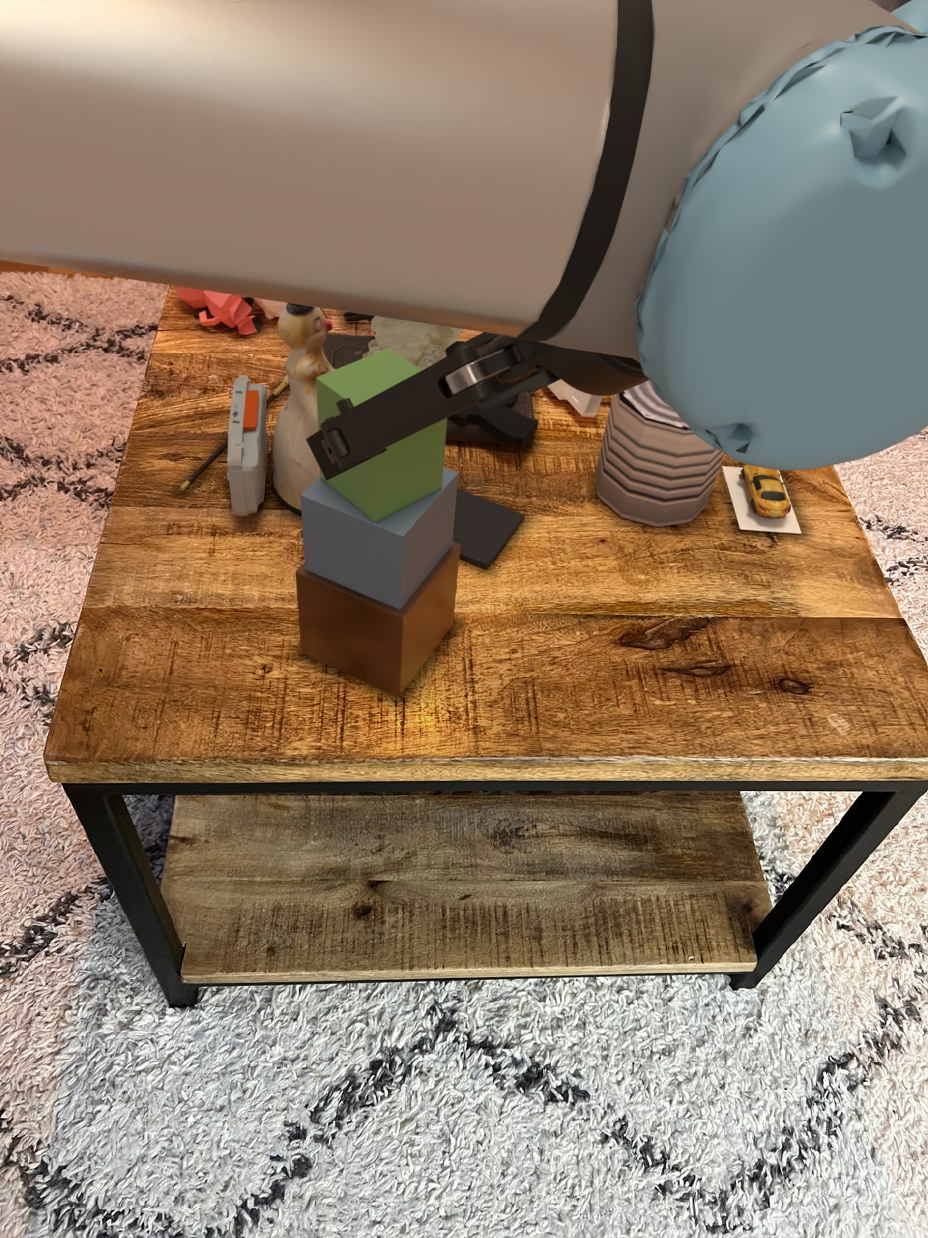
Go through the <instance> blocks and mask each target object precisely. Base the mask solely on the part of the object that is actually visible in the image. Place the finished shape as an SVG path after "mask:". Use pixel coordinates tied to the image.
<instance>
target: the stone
mask: <svg viewBox="0 0 928 1238" xmlns="http://www.w3.org/2000/svg"><path fill="white" fill-rule="evenodd" d="M369 327H370V329H371V332H372V333H373V334H374V336H375V339H373V340H371V341H370V342H369V343H368V345H369V350H370V351H369V352H367V353H364V354H363V357H362V359H363V358H366V357H368V356H370V355H373V354H375V353H378V352H380V351H383V350H385V349H388V348H389V349H391V350H392V351H394V352H395V353H397V354H398V355H400V356H401V357H403V358H404V359H406V360H407V361H409V362H410V363H412V364H413V365H415V366H416V367H418V368H419V369H421V370H424V369H426V368H427V367H429V366H431V365H433V364H435V363H436V362H438V361H440V360H441V359H443V358H445V357H446V352H445V350H446V348H447V347H449V346H450V345H452V344H453V343H455V342H456V341H459V339H460V335H461V334H462V333H463V331H464V329H459V328H453V327H446V326H439V325H432V324H426V323H419V322H412V321H406V320H399V319H392V318H386V317H379V316H375V317H374V318H373V319H372V321H371V322H370V324H369Z"/></svg>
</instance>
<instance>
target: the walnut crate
mask: <svg viewBox="0 0 928 1238" xmlns="http://www.w3.org/2000/svg"><path fill="white" fill-rule="evenodd" d="M460 547H461V545H460V544H458V543H455V542H453V541H452V546H451V547H450V549H449V550H448V551H447V552H446V554H445V555H444V556H443V557H442V559H441V560H440V561H439V562H438V564H437V565H436V566H435V567H434V569H433V570H432V571H431V572H430V574H429V575H428V576H427V577H426V579H425V580H424V581H423V582H422V584H421V585H420V586H419V587H418V589H417V590H416V591H415V592H414V594H413V595H412V596H411V597H410V599H409V600H408V601H407V602H406V604H405V605H404V606H403V607H402V609H401V610H399V609H396V608H394V607H392V606H389V605H387V604H385V603H382V602H380V601H378V600H375V599H373V598H371V597H368V596H366V595H364V594H361V593H359V592H356V591H354V590H352V589H349V588H347V587H345V586H342V585H340V584H338V583H335V582H333V581H331V580H328V579H326V578H324V577H321V576H319V575H317V574H314V573H312V572H309V571H307V570H305V561H304V562H303V563H302V564H301V565H300V566H299V567H298V568H297V569H296V571H294V572H295V584H296V586H295V587H296V599H297V610H298V611H297V613H298V626H299V641H300V642H299V643H300V654H302V655H303V656H306V657H308V658H310V659H313V660H315V661H317V662H320V663H322V664H324V665H325V666H328V667H330V668H333V669H335V670H337V671H340V672H342V673H344V674H346V675H348V676H349V677H353V678H355V679H357V680H359V681H361V682H364V683H366V684H367V685H370V686H372V687H374V688H377V689H379V690H381V691H383V692H385V693H388V694H390V695H393V697H397V698H399V699H400V698H401V697H402V695H403V694H404V693H405V692H406V690H407V689H408V688H409V686H410V684H412V681H413V680H414V679H415V678H416V676H418V673H419V672H420V671H421V670H422V668H423V667H424V665H425V664H426V663H427V661H428V660H429V658H431V656H432V655H433V653H434V652H435V651H436V649H437V647H438V646H439V645H440V644H441V642H442V641H443V640H444V638H445V637H446V636H447V634H448V633H449V631H450V630H451V628H452V627H453V626H454V618H455V609H456V607H455V606H456V596H457V588H458V587H457V586H458V577H459V567H460Z"/></svg>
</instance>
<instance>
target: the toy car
mask: <svg viewBox="0 0 928 1238" xmlns="http://www.w3.org/2000/svg"><path fill="white" fill-rule="evenodd" d="M721 468H722V472H723V475H724V479H725V482H726V485H727V489H728V492H729V496H730V499H731V503H732V506H733V510H734V513H735V516H736V520H737V523H738V527H739V530H743V531H758V532H771V533H784V534H785V533H786V534H802V530H801V527H800V525H799V522H798V519H797V516H796V514H795V511H794V507H793V505H792V503H791V500H790V497H789V494H788V491H787V488H786V486H785V485H787V483H786V482H784V480H783V478H782V475H781V472H780V470H775V469H766V468H761V467H756V466H752V465H748V464H743V466H742V467H739V466H725V465H721Z"/></svg>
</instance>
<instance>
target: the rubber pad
mask: <svg viewBox="0 0 928 1238" xmlns="http://www.w3.org/2000/svg"><path fill="white" fill-rule="evenodd" d="M525 515H526V514H525V513H522V512H520V511H516V510H514V509H511V508H509V507H506V506H504V505H501V504H499V503H496V502H493V501H491V500H487V499H485V498H483V497H480V496H477V495H475V494H472V493H469V492H467V491H464V490H461V489H459V488H457V495H456V506H455V517H454V528H453V540H452V541H453V542H455V543H458V544H460V545H461V547H460V558H459V560H460V559H461V560H463V561H465V562H468V563H470V564H473V565H476V566H478V567H481V568H483V569H486V570H488V569H489V567H490V566H491V565H492V563H493V562H494V561H495V560H496V559H497V557H498V555H499V554H500V553H501V552H502V551H503V548H504V547H505V546H506V545H507V543H508V542H509V540H510V539H511V538H512V536H513V535H514V534H515V533H516V531H517V530H518V528H519V527H520V526H521V524H522V523H523V522H524V520H525Z"/></svg>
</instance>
